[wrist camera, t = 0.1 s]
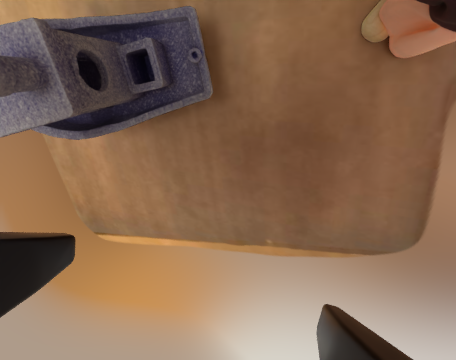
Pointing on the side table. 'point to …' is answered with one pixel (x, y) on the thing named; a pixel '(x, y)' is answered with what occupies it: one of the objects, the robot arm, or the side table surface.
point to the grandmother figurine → (411, 25)
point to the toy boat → (99, 72)
